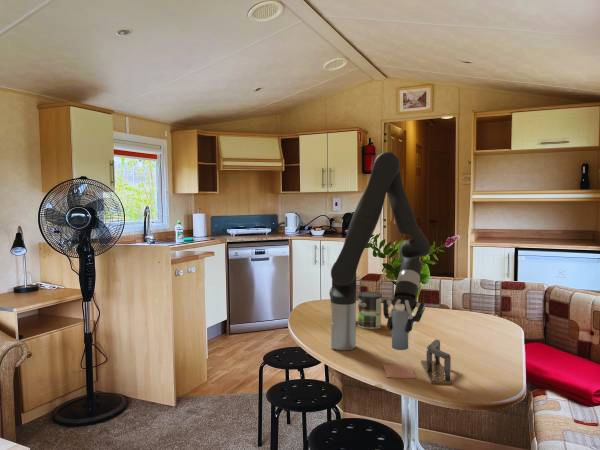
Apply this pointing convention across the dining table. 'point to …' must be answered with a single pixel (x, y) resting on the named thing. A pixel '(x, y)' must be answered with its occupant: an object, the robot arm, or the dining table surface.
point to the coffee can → (369, 310)
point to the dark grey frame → (437, 364)
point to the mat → (399, 371)
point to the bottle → (399, 327)
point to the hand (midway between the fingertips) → (398, 330)
